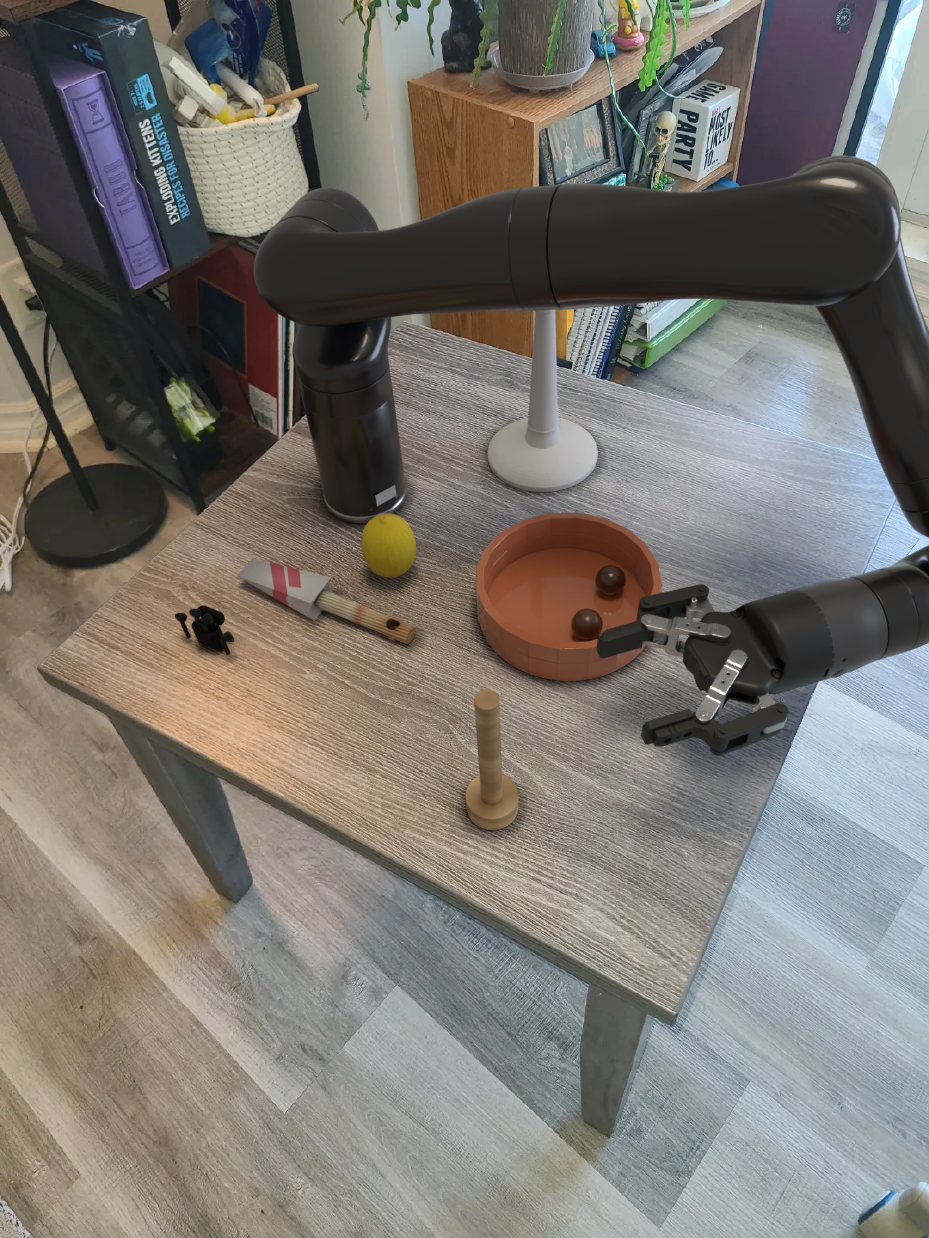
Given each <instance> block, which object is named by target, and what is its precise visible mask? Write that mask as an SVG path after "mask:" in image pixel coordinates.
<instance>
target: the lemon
mask: <svg viewBox="0 0 929 1238" xmlns="http://www.w3.org/2000/svg"><path fill="white" fill-rule="evenodd" d="M360 543H361V544H360V545H361V546H360V548H361V554H362V557H363V560H364V563H366V565H367V566H368V568H369V569H370V570H371V571H372V572H374V573H375V574H376V575H378V576H381V577H384V578H396V577H399V576H401V575H404V574H405V573H407V572H408V571H409V569H411V567H412V566H413V564H414V562H415V559H416V553H417V541H416V537H415V533H414V531H413V529H412V527H411V526H410V525H409V523H408V522H407V521H406V520H405V519H404V518H402V517H401V516H399V515H397V514H395V513H393V514H381V515H377V516H376V517H374V518H372V519H371V520H370V521H369V522H368V523H366V524H365V526H364V527H363V531H362V534H361V541H360Z"/></svg>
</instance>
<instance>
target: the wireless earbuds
mask: <svg viewBox="0 0 929 1238" xmlns="http://www.w3.org/2000/svg"><path fill="white" fill-rule="evenodd" d="M188 613H189V615H190V616H191V618H193V619H194V620H193V621H192V623H191V625H190V627H191V630H192V632H193V634H194V636H195V638H196V641H197V642H198V644H199V645H201V646H203V647H205V648H207V649H210V650H212V651H214V652H222V651H224V653H225V655H226V656H230V655H231V651H230V648H229V646H228V643H230V644H231V643H234V642H235V637H234V635H233V634H232V633H231V632H230V631H229V630H228V631H227V630H226V632H224V633H223V630H222V628H221V626H223V624H224V623H225V621H226V616H225V614H224V613H223V612H222V611H220V610H217V609H215V608H213V607H211V606H208V605H199V606H198V607H197V608H196V607H195V608H191V609H189V610H188ZM174 618H175V620H176V621H177V622H179V624H180V626H181V629H182V631H183V633H184V636H185V637H186V639H188V640H189V639H191V638H192V635H191V633H190V631H189V628H188V626H187V624H186V621H187V619H188V615H187V614H186V613H185V612H176V613H175V614H174Z"/></svg>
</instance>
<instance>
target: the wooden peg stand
mask: <svg viewBox="0 0 929 1238" xmlns="http://www.w3.org/2000/svg"><path fill="white" fill-rule="evenodd" d="M473 705H474V706H473V707H474V719H475V731H476V747H477V759H478V761H477V762H478V772H479V775H477V776H476V777H474V778H473V779H472V780H470V782H469V784H468V785H467V787H466V791H465V805H466V812H467V815H468V818H469V819H470V820H471V822H472V823H473V824H475V825H476V826H477V827H479V828H481V829H483V830H487V831H496V830H501V829H504V828H506V827H508V826H509V825H510V824H512V822H513V821H514V820H516V817H517V815H518V813H519V790H518V788H517V787H518V786H517V785H516V784H515V782H514V781H513V780H512V779H511V778H510V777H509V776H508V775H506V774H504V773H503V767H502V740H501V739H502V737H501V734H502V733H501V709H500V708H501V707H500V696H499V694H498V693H497V692H496V691H495V690H492V689H489V688H484V689H481V690H479V691H478V692H476V694H475V695H474V698H473Z"/></svg>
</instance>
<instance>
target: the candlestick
mask: <svg viewBox="0 0 929 1238" xmlns="http://www.w3.org/2000/svg"><path fill="white" fill-rule="evenodd" d="M533 327H534V328H533V341H532V342H533V343H532V357H531V370H530V371H531V373H530V386H529V398H528V399H529V401H528V416H527V417H523V418H521V419H518V420H515V421H512V422H510V423H508V424H507V425H505V426H503V427H502V428H501V429H499V430H498V431H497V432H496V433H495V434H494V435H493V436H492V438H491V439H490V441H489V444H488V447H487V461H488V465H489V468H490V470H491V471H492V472H493V474H494V475H495V476H496V477H497V478H498V479H499V480H500V481H502V482H504V483H505V484H507V485H509V486H511V487H514V488H516V489H519V490H523V491H528V492H533V493H534V492H535V493H549V492H550V493H551V492H557V491H562V490H566V489H569V488H571V487H574V486H576V485H578V484H580V483H581V482H583V481H584V480H586V479H587V478H588V477H589V476H590V475H591V474H592V472H593V471H594V469H595V468H596V465H597V462H598V455H599V451H598V449H599V448H598V445H597V442H596V440H595V439H594V437H593V436H592V434H591V433H590V432H589V431H588V430H587V429H585V428H584V427H583V426H581V425H580V424H577V423H576V422H573V421H572V420H568V419H566V418H562V417H559V407H558V405H559V403H558V402H559V401H558V368H557V362H558V361H557V328H556V327H557V326H556V310H543V311H534V326H533Z"/></svg>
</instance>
